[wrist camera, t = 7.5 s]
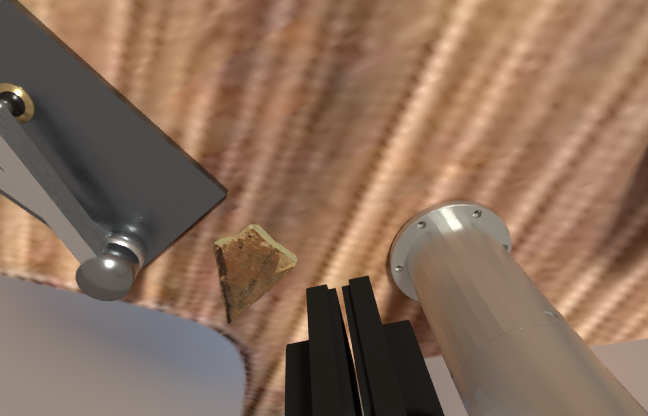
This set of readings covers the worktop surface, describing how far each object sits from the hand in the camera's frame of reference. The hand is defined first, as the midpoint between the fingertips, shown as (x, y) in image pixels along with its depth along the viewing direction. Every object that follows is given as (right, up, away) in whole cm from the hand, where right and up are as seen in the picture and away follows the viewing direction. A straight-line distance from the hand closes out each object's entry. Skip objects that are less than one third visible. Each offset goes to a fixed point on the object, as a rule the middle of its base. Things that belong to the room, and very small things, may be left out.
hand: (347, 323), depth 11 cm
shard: (-7, -3, +32) cm, 33 cm away
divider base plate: (-22, +7, +25) cm, 34 cm away
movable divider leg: (-22, +4, +25) cm, 33 cm away
